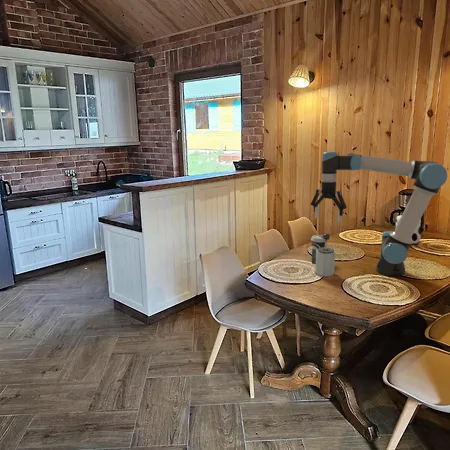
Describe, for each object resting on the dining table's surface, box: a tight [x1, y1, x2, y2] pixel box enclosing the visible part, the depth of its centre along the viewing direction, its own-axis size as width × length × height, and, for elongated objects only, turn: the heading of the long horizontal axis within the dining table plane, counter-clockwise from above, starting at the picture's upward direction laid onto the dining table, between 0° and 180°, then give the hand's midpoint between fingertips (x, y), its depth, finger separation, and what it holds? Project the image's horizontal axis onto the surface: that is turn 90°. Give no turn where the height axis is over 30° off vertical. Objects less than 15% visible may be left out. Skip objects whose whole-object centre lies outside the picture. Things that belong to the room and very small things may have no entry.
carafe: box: [311, 247, 336, 277], centre depth 218 cm, size 13×10×14 cm
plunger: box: [322, 233, 331, 254], centre depth 215 cm, size 7×7×18 cm
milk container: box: [395, 214, 422, 245], centre depth 268 cm, size 17×17×18 cm
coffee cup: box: [310, 234, 325, 262], centre depth 238 cm, size 10×10×15 cm
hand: (327, 219), depth 210 cm, fingers open, 13 cm apart
